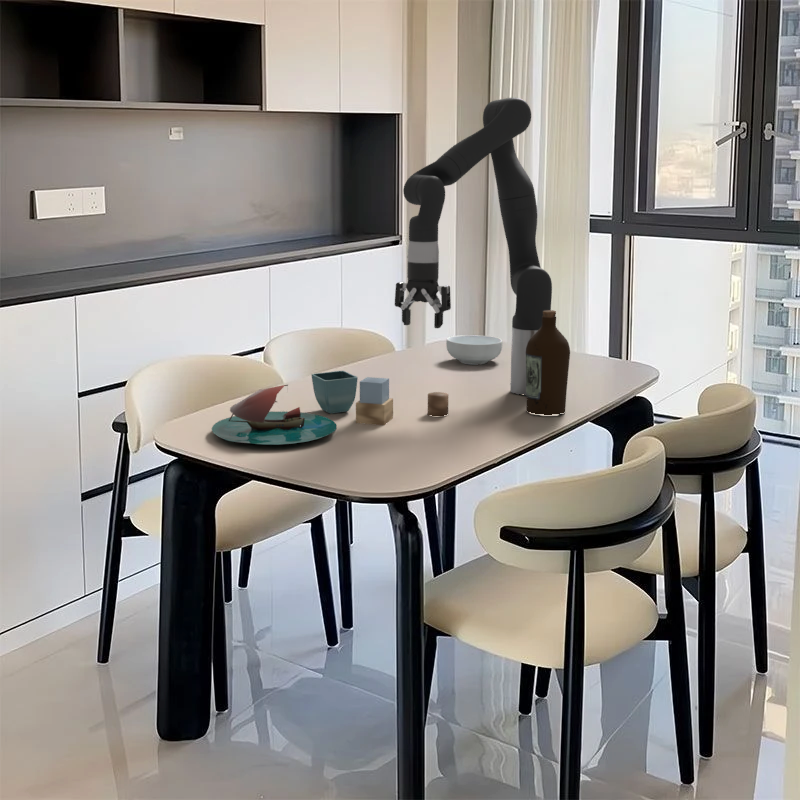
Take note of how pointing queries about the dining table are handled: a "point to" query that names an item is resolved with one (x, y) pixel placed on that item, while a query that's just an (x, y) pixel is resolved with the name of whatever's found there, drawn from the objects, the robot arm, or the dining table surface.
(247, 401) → the sailing ship model
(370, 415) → the base block
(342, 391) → the flower pot
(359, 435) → the dining table surface
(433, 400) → the brown rounded cylinder
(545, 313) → the olive oil
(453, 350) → the cereal bowl
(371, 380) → the mid block
